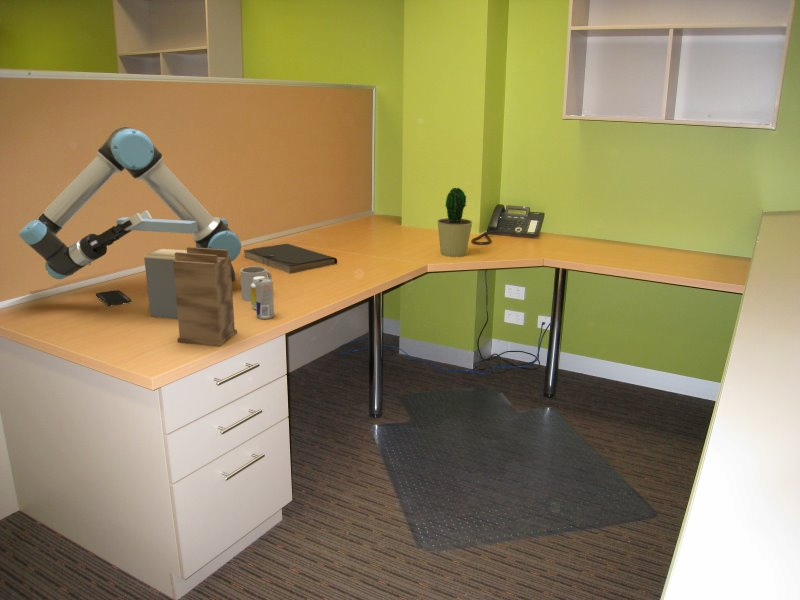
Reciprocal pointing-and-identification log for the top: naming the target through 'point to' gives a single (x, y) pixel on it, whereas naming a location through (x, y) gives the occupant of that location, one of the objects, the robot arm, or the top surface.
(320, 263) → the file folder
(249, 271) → the mug
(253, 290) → the supplement bottle
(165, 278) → the block
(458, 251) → the potted cactus
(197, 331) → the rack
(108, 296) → the phone
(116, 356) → the top surface
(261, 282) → the energy drink
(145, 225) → the batten
